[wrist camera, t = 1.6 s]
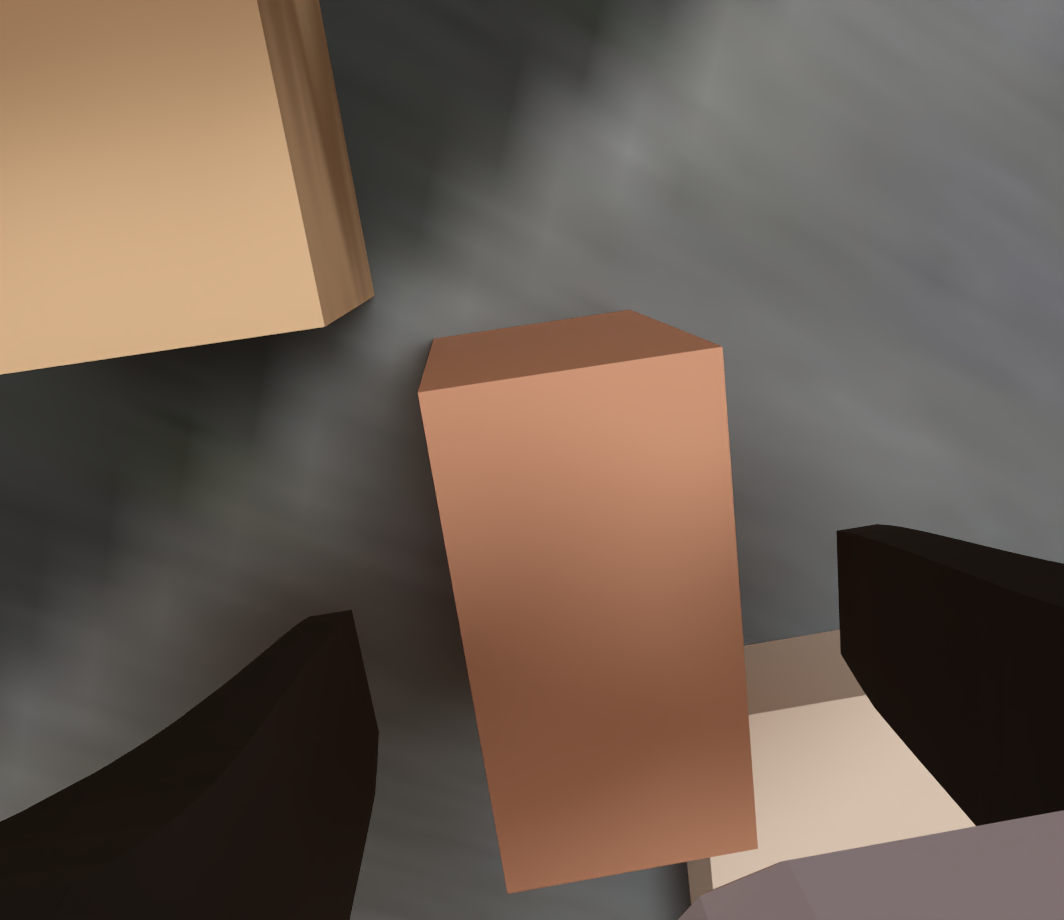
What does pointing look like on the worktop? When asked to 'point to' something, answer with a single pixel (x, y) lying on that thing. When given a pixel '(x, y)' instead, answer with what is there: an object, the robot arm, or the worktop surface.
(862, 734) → the base block
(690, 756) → the terracotta brick
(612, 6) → the worktop surface
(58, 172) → the light oak brick
